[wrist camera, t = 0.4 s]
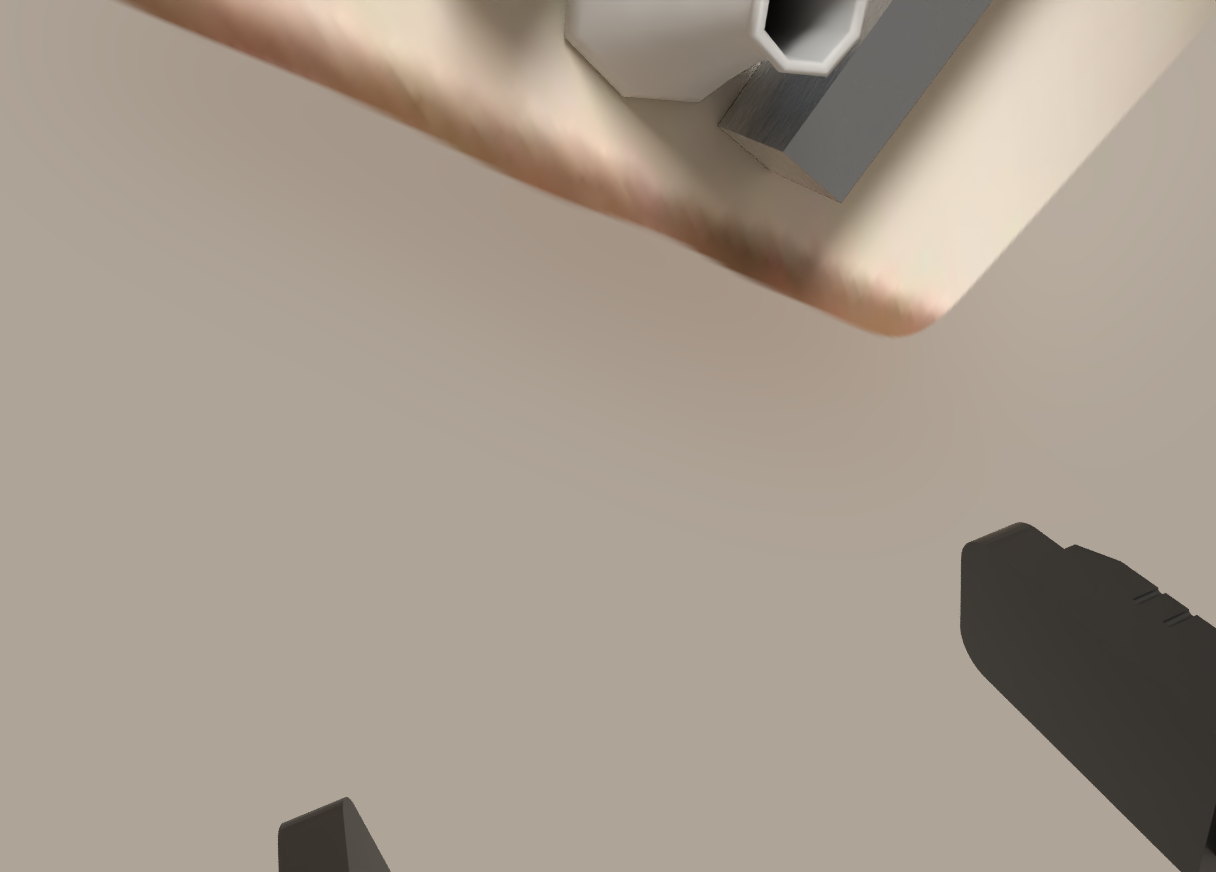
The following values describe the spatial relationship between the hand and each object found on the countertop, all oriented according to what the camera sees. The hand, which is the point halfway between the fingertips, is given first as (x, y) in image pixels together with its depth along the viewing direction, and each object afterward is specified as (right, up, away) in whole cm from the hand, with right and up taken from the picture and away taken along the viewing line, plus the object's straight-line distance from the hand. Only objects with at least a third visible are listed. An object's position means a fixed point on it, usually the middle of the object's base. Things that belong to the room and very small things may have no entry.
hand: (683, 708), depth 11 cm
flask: (+1, +18, +20) cm, 27 cm away
